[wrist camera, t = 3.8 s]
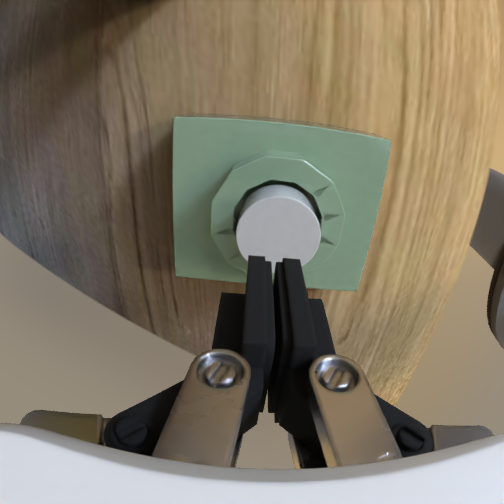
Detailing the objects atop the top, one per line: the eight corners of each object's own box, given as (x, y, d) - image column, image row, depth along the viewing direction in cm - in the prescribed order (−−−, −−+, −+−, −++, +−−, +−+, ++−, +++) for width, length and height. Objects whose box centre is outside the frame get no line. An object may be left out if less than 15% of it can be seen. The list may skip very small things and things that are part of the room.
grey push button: (320, 188, 16) (327, 201, 14) (308, 257, 17) (313, 277, 16) (241, 180, 16) (238, 192, 14) (237, 251, 17) (233, 270, 16)
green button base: (374, 133, 18) (405, 146, 14) (347, 267, 23) (363, 308, 18) (186, 113, 18) (162, 119, 14) (185, 253, 23) (168, 292, 18)
